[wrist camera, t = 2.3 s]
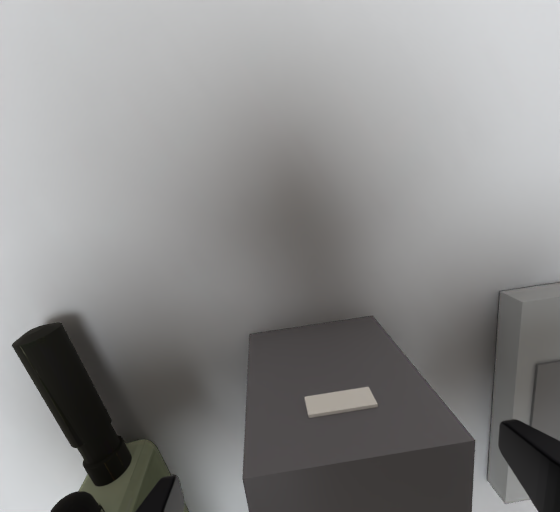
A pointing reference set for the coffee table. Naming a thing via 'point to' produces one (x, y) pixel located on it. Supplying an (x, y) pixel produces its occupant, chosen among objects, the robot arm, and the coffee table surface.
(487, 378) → the coffee table surface
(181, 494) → the robot arm
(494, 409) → the grey charging dock
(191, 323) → the coffee table surface
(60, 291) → the coffee table surface
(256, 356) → the block
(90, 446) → the handheld radio
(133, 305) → the coffee table surface
